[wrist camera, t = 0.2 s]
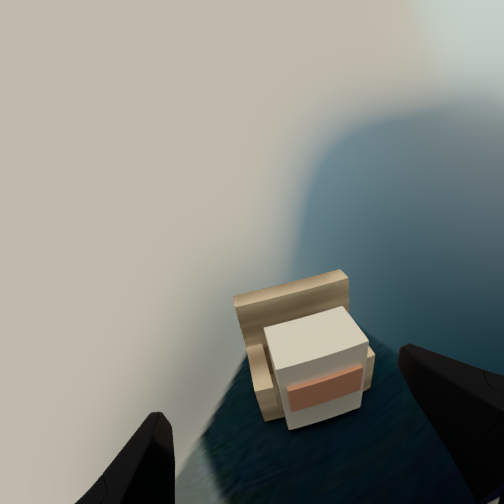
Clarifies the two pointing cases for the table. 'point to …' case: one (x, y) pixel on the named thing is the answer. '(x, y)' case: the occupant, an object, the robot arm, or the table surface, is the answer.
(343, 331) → the white box
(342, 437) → the table surface
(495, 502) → the flask
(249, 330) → the beige toy armchair
